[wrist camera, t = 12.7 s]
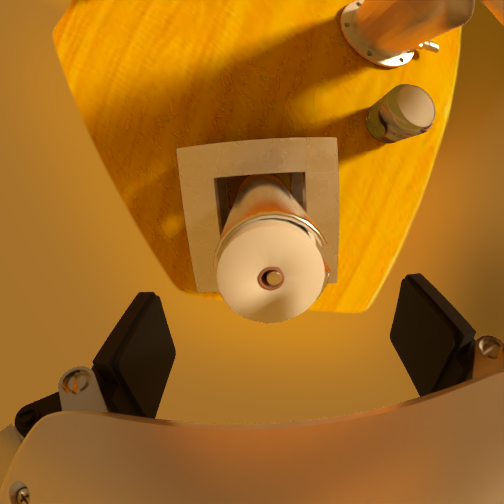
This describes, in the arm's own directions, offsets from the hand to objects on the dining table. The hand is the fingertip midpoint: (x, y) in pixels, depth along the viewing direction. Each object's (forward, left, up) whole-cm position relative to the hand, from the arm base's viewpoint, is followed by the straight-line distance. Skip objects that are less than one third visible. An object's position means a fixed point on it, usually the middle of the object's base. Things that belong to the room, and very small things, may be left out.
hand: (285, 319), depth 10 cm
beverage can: (-18, -11, -29) cm, 36 cm away
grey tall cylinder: (0, 0, -29) cm, 29 cm away
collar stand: (0, 0, -29) cm, 29 cm away
